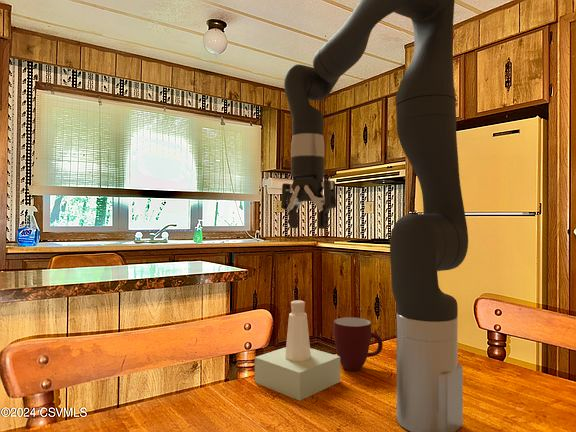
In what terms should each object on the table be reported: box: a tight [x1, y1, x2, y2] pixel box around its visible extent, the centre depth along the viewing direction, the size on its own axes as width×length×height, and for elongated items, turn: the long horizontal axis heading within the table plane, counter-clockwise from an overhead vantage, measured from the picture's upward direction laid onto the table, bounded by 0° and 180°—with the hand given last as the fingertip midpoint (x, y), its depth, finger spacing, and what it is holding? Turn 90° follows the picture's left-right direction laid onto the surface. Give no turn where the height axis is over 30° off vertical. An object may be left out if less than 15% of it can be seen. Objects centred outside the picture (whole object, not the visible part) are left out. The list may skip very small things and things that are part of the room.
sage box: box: [254, 346, 341, 402], centre depth 84 cm, size 12×12×5 cm
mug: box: [333, 316, 384, 372], centre depth 92 cm, size 10×8×10 cm
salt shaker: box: [285, 299, 311, 361], centre depth 84 cm, size 5×5×11 cm
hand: (307, 228), depth 95 cm, fingers open, 8 cm apart
